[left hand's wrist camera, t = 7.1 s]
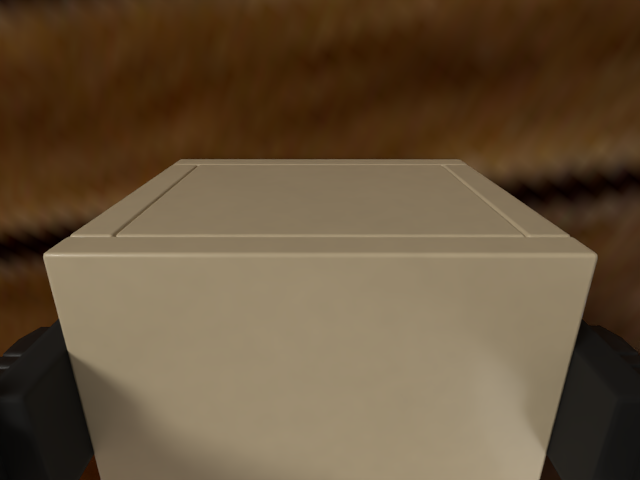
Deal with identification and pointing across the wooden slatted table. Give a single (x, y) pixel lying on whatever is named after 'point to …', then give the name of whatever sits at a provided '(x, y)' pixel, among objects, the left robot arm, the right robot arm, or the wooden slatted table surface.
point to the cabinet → (320, 323)
